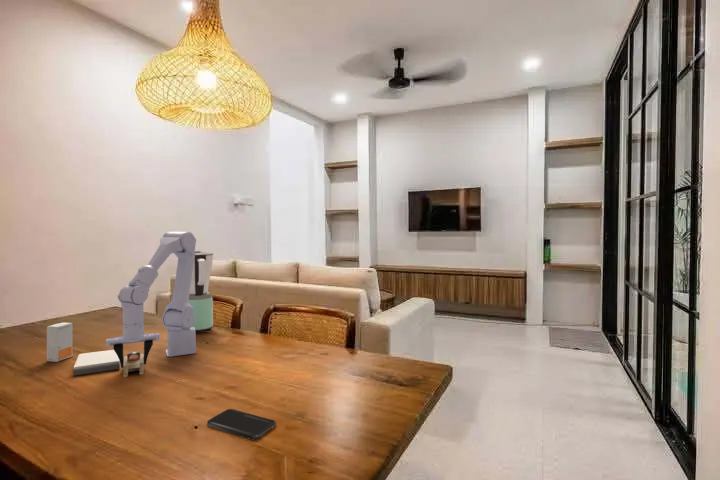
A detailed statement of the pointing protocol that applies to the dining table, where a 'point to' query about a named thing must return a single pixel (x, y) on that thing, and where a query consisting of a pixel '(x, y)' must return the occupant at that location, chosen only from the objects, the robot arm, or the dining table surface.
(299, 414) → the dining table surface
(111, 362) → the dock
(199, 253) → the juicer
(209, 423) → the phone
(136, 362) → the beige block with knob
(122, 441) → the dining table surface
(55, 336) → the skincare box
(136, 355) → the drum
